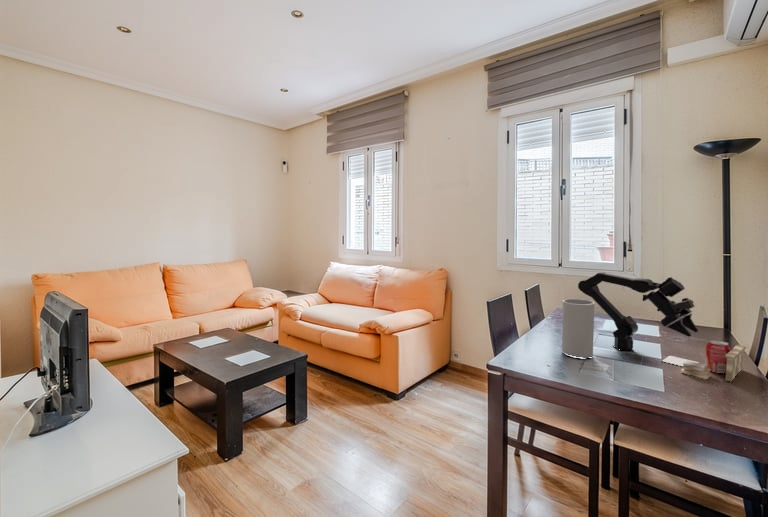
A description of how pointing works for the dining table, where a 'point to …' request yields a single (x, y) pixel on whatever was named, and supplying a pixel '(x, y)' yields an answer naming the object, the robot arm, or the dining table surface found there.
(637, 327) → the robot arm
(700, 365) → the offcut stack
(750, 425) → the dining table surface
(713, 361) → the soda can
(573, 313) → the cylinder vase
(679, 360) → the white mat
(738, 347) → the rack board
